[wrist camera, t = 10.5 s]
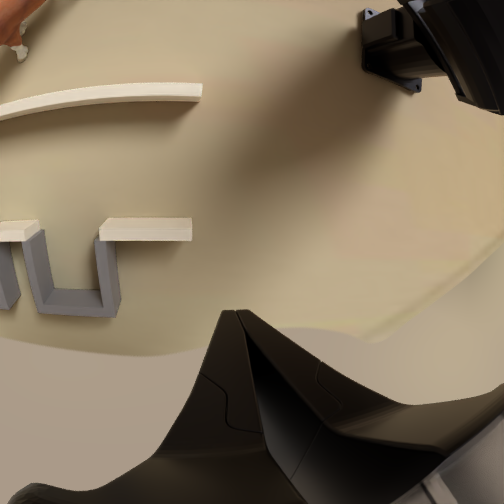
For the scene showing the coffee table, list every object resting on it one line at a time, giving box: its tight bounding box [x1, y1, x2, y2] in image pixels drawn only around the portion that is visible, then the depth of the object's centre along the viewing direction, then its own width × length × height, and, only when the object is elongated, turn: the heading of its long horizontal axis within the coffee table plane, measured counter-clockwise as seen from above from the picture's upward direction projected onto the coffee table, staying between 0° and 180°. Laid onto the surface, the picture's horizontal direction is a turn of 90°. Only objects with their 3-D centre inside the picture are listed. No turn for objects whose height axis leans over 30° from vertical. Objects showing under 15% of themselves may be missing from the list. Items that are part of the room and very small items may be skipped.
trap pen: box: [0, 83, 203, 318], centre depth 14 cm, size 27×15×3 cm, turn 85°
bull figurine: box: [0, 0, 46, 63], centre depth 7 cm, size 4×13×8 cm, turn 129°
